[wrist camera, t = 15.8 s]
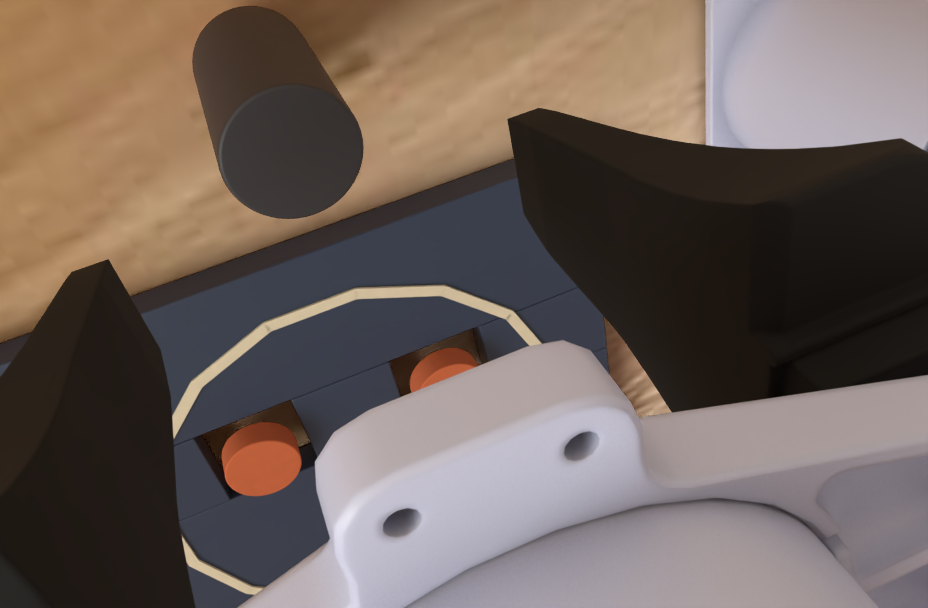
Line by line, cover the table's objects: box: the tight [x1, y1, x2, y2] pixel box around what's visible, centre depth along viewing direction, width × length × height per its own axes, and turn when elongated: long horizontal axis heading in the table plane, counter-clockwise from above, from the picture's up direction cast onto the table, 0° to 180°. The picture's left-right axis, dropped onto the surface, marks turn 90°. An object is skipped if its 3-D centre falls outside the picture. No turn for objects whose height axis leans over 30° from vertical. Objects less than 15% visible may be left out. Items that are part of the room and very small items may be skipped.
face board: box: [0, 159, 610, 608], centre depth 31 cm, size 20×18×1 cm
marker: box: [192, 6, 363, 219], centre depth 20 cm, size 3×3×7 cm
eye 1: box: [222, 422, 302, 496], centre depth 28 cm, size 3×3×1 cm
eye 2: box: [410, 348, 478, 392], centre depth 30 cm, size 3×3×1 cm
